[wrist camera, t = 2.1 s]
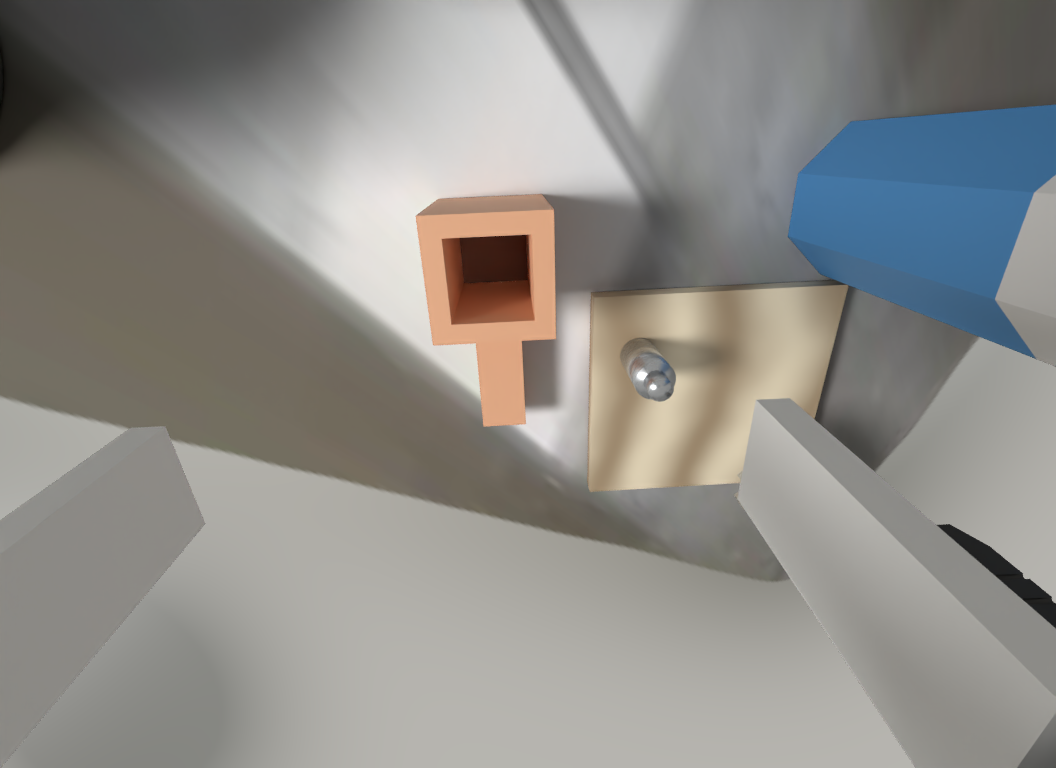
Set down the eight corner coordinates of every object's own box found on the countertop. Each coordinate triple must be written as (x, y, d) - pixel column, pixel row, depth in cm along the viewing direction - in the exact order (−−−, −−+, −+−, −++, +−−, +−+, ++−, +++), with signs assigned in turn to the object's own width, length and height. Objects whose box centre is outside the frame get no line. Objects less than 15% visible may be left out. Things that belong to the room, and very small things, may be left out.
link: (546, 404, 34) (557, 472, 27) (462, 409, 34) (451, 478, 27) (541, 194, 28) (554, 209, 21) (438, 198, 28) (415, 215, 21)
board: (587, 481, 37) (589, 491, 36) (590, 292, 31) (593, 297, 30) (790, 470, 38) (799, 479, 37) (837, 279, 31) (849, 284, 30)
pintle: (619, 372, 32) (638, 410, 27) (620, 338, 31) (641, 372, 26) (655, 370, 32) (680, 408, 27) (657, 336, 31) (685, 369, 26)
